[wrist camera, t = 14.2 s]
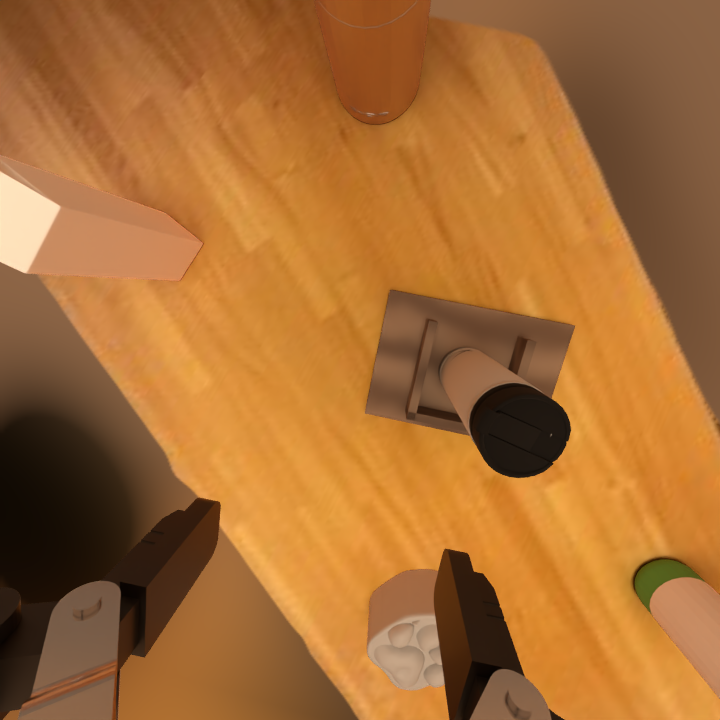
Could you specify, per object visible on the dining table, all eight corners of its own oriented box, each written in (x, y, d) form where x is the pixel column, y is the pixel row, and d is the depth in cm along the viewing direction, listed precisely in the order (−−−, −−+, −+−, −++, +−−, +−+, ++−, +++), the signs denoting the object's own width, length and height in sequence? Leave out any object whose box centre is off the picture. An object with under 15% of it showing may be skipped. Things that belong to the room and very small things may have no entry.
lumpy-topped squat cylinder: (360, 597, 51) (354, 658, 42) (429, 553, 48) (437, 609, 40) (404, 643, 52) (407, 712, 43) (474, 603, 49) (491, 668, 41)
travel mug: (450, 336, 41) (504, 377, 21) (499, 359, 41) (599, 421, 21) (427, 381, 42) (457, 458, 23) (474, 403, 42) (546, 500, 23)
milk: (204, 243, 42) (14, 193, 21) (179, 282, 43) (-24, 273, 22) (165, 211, 42) (-71, 127, 20) (141, 251, 43) (-105, 212, 22)
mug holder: (390, 289, 41) (390, 289, 37) (570, 324, 40) (590, 328, 36) (365, 410, 45) (363, 422, 41) (531, 445, 44) (545, 460, 40)
